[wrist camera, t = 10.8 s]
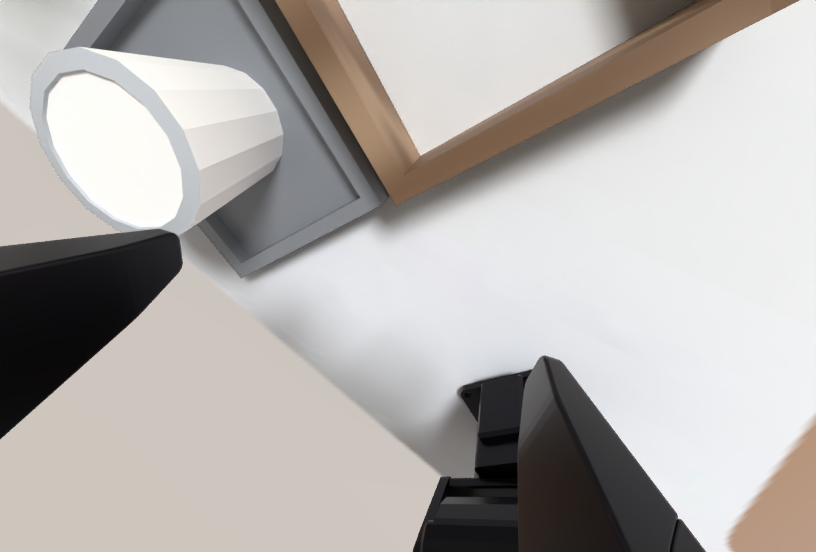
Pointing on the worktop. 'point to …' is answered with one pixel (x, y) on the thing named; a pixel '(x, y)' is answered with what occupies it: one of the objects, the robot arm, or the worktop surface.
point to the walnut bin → (574, 92)
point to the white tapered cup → (152, 135)
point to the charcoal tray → (292, 97)
